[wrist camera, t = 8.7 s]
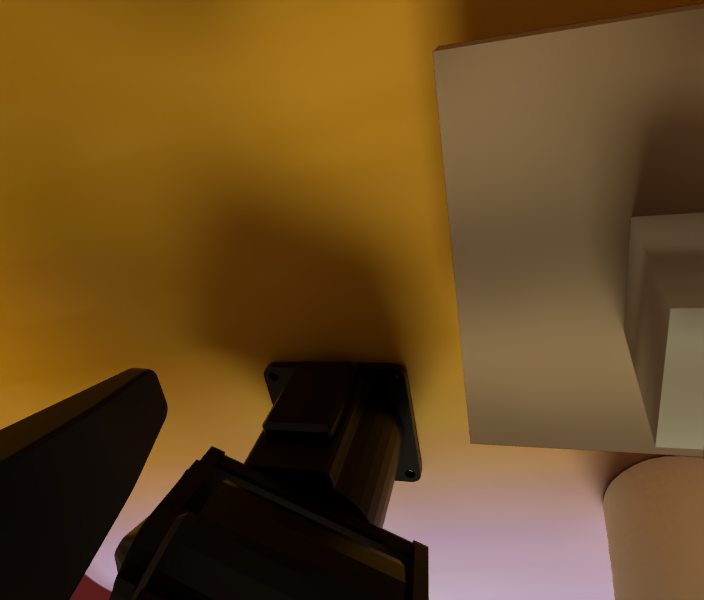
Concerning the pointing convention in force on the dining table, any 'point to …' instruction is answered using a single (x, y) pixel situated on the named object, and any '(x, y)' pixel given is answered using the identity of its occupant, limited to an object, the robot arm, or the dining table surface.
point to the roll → (657, 529)
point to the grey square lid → (580, 231)
